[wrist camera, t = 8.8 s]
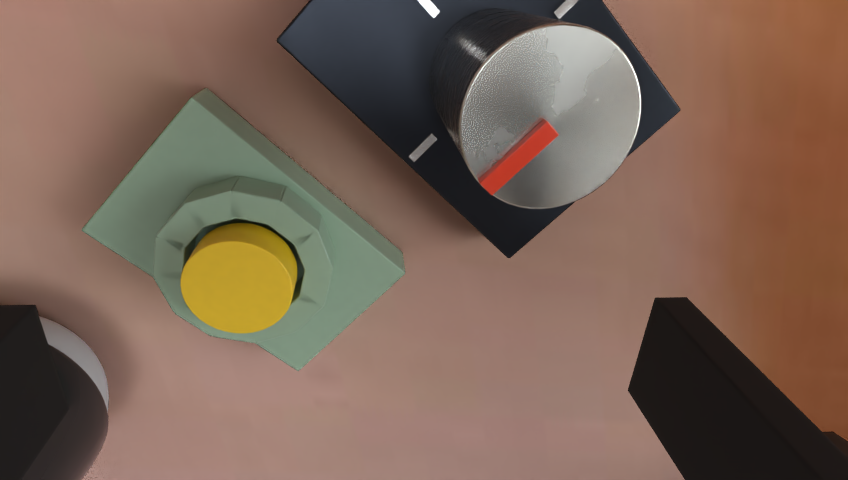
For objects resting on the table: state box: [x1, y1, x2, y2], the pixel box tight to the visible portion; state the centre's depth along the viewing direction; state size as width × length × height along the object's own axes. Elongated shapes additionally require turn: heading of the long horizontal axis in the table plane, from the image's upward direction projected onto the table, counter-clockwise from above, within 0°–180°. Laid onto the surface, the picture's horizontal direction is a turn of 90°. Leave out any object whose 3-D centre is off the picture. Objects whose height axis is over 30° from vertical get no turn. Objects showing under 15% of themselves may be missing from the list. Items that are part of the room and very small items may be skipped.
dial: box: [429, 8, 641, 209], centre depth 18 cm, size 5×5×8 cm
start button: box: [180, 223, 297, 333], centre depth 22 cm, size 4×4×2 cm
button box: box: [82, 88, 405, 371], centre depth 24 cm, size 12×8×4 cm, turn 44°
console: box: [277, 0, 680, 258], centre depth 22 cm, size 14×10×3 cm
